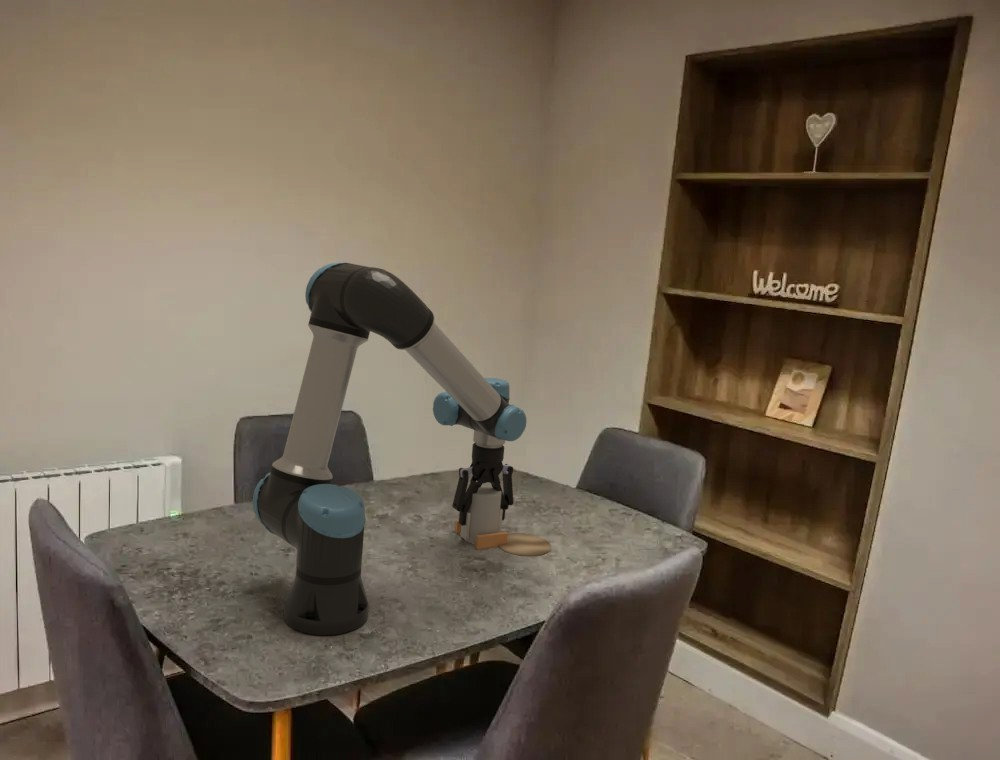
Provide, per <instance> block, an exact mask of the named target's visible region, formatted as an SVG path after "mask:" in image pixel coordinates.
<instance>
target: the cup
mask: <svg viewBox="0 0 1000 760" xmlns="http://www.w3.org/2000/svg"><path fill="white" fill-rule="evenodd" d="M501 493H502V492H501V491H496V490H495V489H493V488H492V485H485V484H484V485H483V484H482V486H481V487H480V488H479V489H478V491H477V493H475V494H473V497H472V504H471V506H470V508H469V510H468V512H470V513H471V517H470V529H469V539H468V540H465V539H464V538H463V539H464V540H465V541H466V542H467V543H470V544H473V545H476V536H477V535H485V534H492V533H498V526H499V515H500V504H501Z"/></svg>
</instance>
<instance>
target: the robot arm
mask: <svg viewBox="0 0 1000 760" xmlns="http://www.w3.org/2000/svg"><path fill="white" fill-rule="evenodd" d="M305 302H306V304H307V306H308V310H309V311H310V316H309V321H308V324H307V326H308V327H309V329H310V331H311V333H312V335H313V338H312V341H311V345H310V350H309V352H308V353H309V354H308V356H307V357H308V358H307V361H306V365H305V369H304V372H303V373H304V374H303V376H302V379H301V385H300V389H299V392H298V396H297V399H296V400H297V401H296V403H295V407H294V412H293V415H292V420H291V423H290V426H289V427H290V428H289V431H288V435H287V439H286V443H285V446H284V450H283V455H282V456H281V457H280V458H278V459H276V460H275V461H273V462H272V465H271V467H270V468H271V469H270V471H269V472H268V473H267V474H265V477H264V478H261V479H260V480H259V481H258V483H257V485H256V487H255V489H254V490H253V496H252V509H253V512H254V515H255V517H256V519H257V520H258V522H259V523H260V524H261V525H263V527H264V528H265V530H267V531H268V532H270V533H271V534H273V535H275V536H277V537H279V538H280V539H282V540H283V541H284V542H286V543H287V544H289V545H291V546H292V547H293V548H295V549H296V564H295V565H296V568H295V577H294V579H293V582H292V585H291V586H290V590H289V593H288V595H287V597H286V599H285V603H284V610H283V612H284V613H283V619H284V621H285V623H286V624H287V625H288V626H289V627H291V629H294V630H295V631H297V632H300V633H303V634H308V635H314V636H331V635H332V636H334V635H335V636H336V635H340V634H345V633H349V632H352V631H354V630H356V629H358V628H360V627H361V626H363V625H364V624H365V623H366V622H367V619H368V618H369V606H370V605H369V599H368V596H367V593H366V589H365V586H364V582H363V579H362V566H363V565H362V564H363V549H364V537H365V536H364V533H365V525H366V512H365V511H366V509H365V506H366V505H365V503H364V500H363V498H362V496H361V495H360V494H359V493H358V492H356V491H355V490H353V489H351V488H349V487H346V486H339V485H338V484H333V483H332V482H333V481H332V480H333V477H334V476H333V474H332V472H331V470H330V469H329V467H328V465H329V460H330V457H331V452H332V450H333V444H334V440H335V437H336V433H337V430H338V425H339V422H340V417H341V414H342V410H343V406H344V403H345V399H346V394H347V390H348V386H349V382H350V379H351V375H352V372H353V371H352V370H353V367H354V363H355V359H356V356H357V351H358V349H359V346H361V345H363V344H365V343H366V342H368V341H369V337H370V333H371V332H372V333H374V334H376V335H378V336H380V337H382V338H383V339H385V340H387V341H388V342H389V343H390V344H391V345H392V346H393V347H394V348H395V349H397V350H401V351H403V350H405V352H407V353H408V354H409V356H411V358H412V359H413V360H415V361H416V363H417V364H419V366H420V367H422V369H424V371H425V372H426V373H427V374H428V375H430V377H431V378H432V379H433V380H434V381H435V382H436V383H437V384H438V385H439V386H440V387H441V388H442V389H443V390H444V391H442V392H440V393H438V394H437V395H436V396H435V398H434V400H433V404H432V405H433V406H432V413H433V417H434V418H435V421H437V423H438V424H439V425H441V426H451V427H453V426H455V425H458V426H461V427H462V426H463V427H464V428H466V429H469V430H470V429H471V430H473V439H472V440H473V442H474V443H473V444H472V448H471V449H472V451H471V463H470V466H469V467H466V468H463V467H460V468H458V481H457V485H456V489H455V493H454V497H453V500H452V501H453V502H452V508H453V509H455V511H457V512H459V515H458V520H459V524H461V533H460V534H459V535H460V537H462V538H463V539H465V541H466V540H468V539H469V529H470V517H471V513H470V512H468V510H469V508H470V506H471V504H472V497H473V494H475V493H477V491H478V489H479V488H480V487H481V486H482V485H483V484H487V483H490V484H491V485H490V486H492V488H493V489H495V490H496V491H501V492H502V493H501V504H500V515H499V526H498V533H500V532H502V524H503V521H505V519H506V510H509V506H513V504H514V492H513V491H514V489H513V478H512V477H513V472H514V467H513V466H511V465H510V464H508V463H505V464H503V461H504V456H505V446H504V444H505V443H506V442H514V441H516V440H518V439H519V438H521V437H522V435H523V433H524V432H525V431H526V427H527V416H526V413H525V410H523V409H521V407H518V406H516V405H514V404H509V403H510V383H509V381H507V380H506V379H503V378H497V377H484V376H483V375H482V374H481V373H480V372H479V370H478V369H477V368H476V367H475V366H474V365H473V364H472V363H471V361H469V359H467V357H466V356H465V355H464V354H463V352H462V351H460V349H459V348H458V347H457V346H456V345H455V344H454V342H453V341H452V340H451V339H450V338H449V337H448V336H447V335H446V334H445V333H444V332H443V330H441V328H440V327H439V326H438V325H437V324H436V323H435V314H434V312H432V310H431V309H430V307H428V306H427V304H426V303H425V302H424V301H423V300H422V299H421V298H420V297H419V296H418V295H417V294H416V293H415V292H414V290H413V289H411V288H410V287H409V286H408V285H407V284H406V283H405V282H403V280H401V279H400V278H399V277H397V276H396V275H395V274H393V273H391V272H389V271H388V270H386V269H384V268H379V267H373V266H366V265H360V264H355V263H349V262H333V263H327V264H326V265H323V266H321V267H320V268H318V269H317V270H316V271H315V272H313V274H312V276H311V277H310V278H309V280H308V283H307V284H306V288H305ZM471 474H472V476H471ZM500 474H502V485H501V480H500V476H499V475H500ZM470 477H471V478H470ZM469 479H470V481H469ZM469 482H470V483H469Z"/></svg>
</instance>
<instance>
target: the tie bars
mask: <svg viewBox="0 0 1000 760" xmlns="http://www.w3.org/2000/svg"><path fill="white" fill-rule="evenodd" d="M454 533H456V534H461V524H459V519H455V521H454ZM508 534H509V533H508V532H507V531H501V532H500V533H492V534H485V535H477V536H476V544H474V545H475V546H474V548H475V550H483V549H489V548H497V547H498V545H501V544H507V537H508ZM498 548H499V547H498Z"/></svg>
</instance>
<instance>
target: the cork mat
mask: <svg viewBox="0 0 1000 760" xmlns="http://www.w3.org/2000/svg"><path fill="white" fill-rule="evenodd" d="M498 548H499V549H500V550H501V551H504V552H506V553H509V554H512V555H515V556H522V557H538V556H542V555H546V554H548V553H549V552H551V549H552V545H551V543H550V542H549V541H548V540H547V539H545V538H543V537H541V536H538V535H534V534H530V533H521V532H517V533H516V532H515V533H514V532H512V533H508V537H507V544H501V545H498Z"/></svg>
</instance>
